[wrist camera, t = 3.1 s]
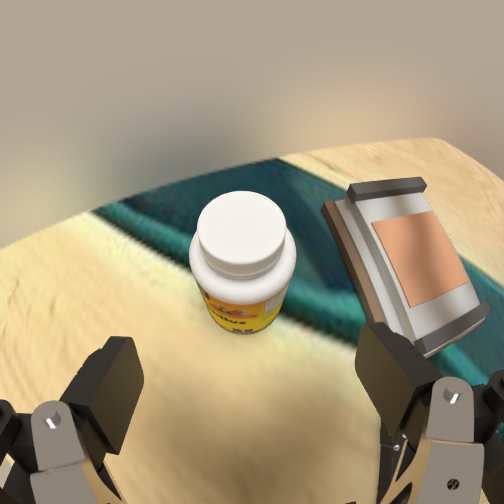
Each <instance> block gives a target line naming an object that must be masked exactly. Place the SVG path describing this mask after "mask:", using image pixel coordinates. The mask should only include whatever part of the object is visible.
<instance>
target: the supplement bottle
mask: <svg viewBox="0 0 504 504" xmlns="http://www.w3.org/2000/svg"><path fill="white" fill-rule="evenodd" d="M189 260H190V266H191V269H192V272H193V275H194V278H195V280H196V282H197V285H198V287H199V289H200V292H201V294H202V296H203V299H204V301H205V303H206V305H207V308H208V310H209V312H210V314H211V316H212V318H213V319H214V320H215V321H216V323H217V324H218V325H220V326H221V327H222V328H224V329H226V330H228V331H230V332H233V333H237V334H252V333H256V332H259V331H261V330H263V329H265V328H266V327H267V326H269V325H270V324H271V323H272V322H273V321H274V319H275V318H276V316H277V315H278V313H279V310H280V308H281V305H282V302H283V300H284V297H285V294H286V291H287V288H288V285H289V283H290V280H291V277H292V274H293V271H294V268H295V263H296V247H295V243H294V240H293V237H292V235H291V233H290V232H289V230H288V229H287V227H286V222H285V218H284V215H283V213H282V211H281V210H280V208H279V207H278V206H277V205H276V204H275V203H274V202H273V201H272V200H270V199H269V198H267V197H265V196H263V195H261V194H258V193H254V192H248V191H236V192H230V193H226V194H224V195H221V196H219V197H217V198H216V199H214V200H213V201H211V202H210V203H209V204H208V205H207V206H206V207H205V208H204V209H203V211H202V213H201V215H200V217H199V220H198V225H197V231H196V233H195V235H194V237H193V239H192V242H191V246H190V252H189Z"/></svg>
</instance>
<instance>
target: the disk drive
mask: <svg viewBox="0 0 504 504" xmlns="http://www.w3.org/2000/svg"><path fill="white" fill-rule="evenodd" d="M477 386H484V384H480V385H475V386H471V387H477ZM406 439H407V438H406V436H405V434H403V435H400V436H397V437H395V438H392V437H391V435H390V434H389V432H388V430H387V428H386V426H385V424H384V422H383V421H382V419H381V431H380V444H381V453H380V472H379V484H378V494H377V500H376V502H377V503H376V504H380V503H381V501H382V500H383V498H384V496H385V495H386V493H387V491H388V489H389V487H390V485H391V482H392V480H393V477H394V474H395V471H396V468H397V465H398V462H399V459H400V456H401V452H402V449H403V445H404V443H405V441H406Z"/></svg>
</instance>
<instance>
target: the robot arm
mask: <svg viewBox="0 0 504 504" xmlns="http://www.w3.org/2000/svg"><path fill="white" fill-rule="evenodd" d="M355 370H356V373H357V376H358V377H359V379H360V381H361V383H362V385H363V386H364V388H365V390H366V392H367V393H368V395H369V397H370V399H371V401H372V402H373V404H374V406H375V408H376V410H377V411H378V413H379V415H380V417H381V419H382V421H383V422H384V424H385V426H386V428H387V430H388V432H389V434H390V435H391V437H392V438H395V437H397V436H400V435H403V434H405V436H406V438H407V439H406V441H405V443H404V445H403V449H402V452H401V456H400V459H399V462H398V465H397V468H396V471H395V474H394V477H393V480H392V482H391V485H390V487H389V489H388V491H387V493H386V495H385V496H384V498H383V500H382V501H381V503H380V504H479V499H480V492H481V487H482V489H483V491H484V493H485V495H486V497H487V499H488V501H489V503H490V504H504V443H503V442H502V440H501V439H500V437H499V436H498V435H497V433H496V430H497V429H498V428H499V426H500V425H501V423H502V422H503V423H504V370H499V371H496V372H494V373H493V374H492V376H491V378H490V380H489V382H488V384H487V385H484V386H477V387H470V385H469V384H468V383H467V382H465V381H464V380H462V379H459V378H456V377H444V378H443V376H442V375H441V374H440V373H439V372H438V371H437V370H436V369H435V367H434V366H433V365H432V364H431V363H430V362H429V361H428V360H427V359H426V358H425V357H424V355H421V352H420V351H419V350H418V349H417V348H415V346H414V345H413V344H412V343H411V342H410V340H409V339H408V338H406V337H404V336H402V335H400V334H399V333H397V332H395V333H394V332H393V331H392V330H391V329H390V328H389V327H388V326H387V325H386V324H385V323H384V322H382V321H381V322H375V323H369V324H363V325H362V327H361V329H360V335H359V341H358V346H357V352H356V357H355ZM143 384H144V375H143V370H142V367H141V363H140V360H139V357H138V354H137V350H136V347H135V343H134V341H133V339H132V338H131V337H122V336H111V337H110V338H109V339H108V340H107V342H106V343H105V345H104V346H103V348H102V349H98V350H96V351H95V352H94V353H92V354H91V355H89V356H88V358H87V359H86V361H85V362H84V364H83V365H82V367H81V368H80V369H79V371H78V372H77V375H75V377H74V378H73V380H72V381H71V383H70V384H69V386H68V387H67V389H66V390H65V392H64V393H63V395H62V396H61V398H60V400H59V401H47V402H44V403H42V404H41V405H39V406H38V407H37V408H36V409H35V410H34V412H33V413H32V414H25V413H16V412H15V410H14V409H13V407H12V405H11V404H10V403H9V402H8V401H6V400H1V399H0V466H1V464H2V462H3V459H4V458H5V456H6V454H7V453H8V454H9V455H10V457H11V458H12V459H13V460H14V461H15V462H14V464H13V466H12V468H11V471H10V473H9V475H8V477H7V480H6V482H5V485H4V487H3V489H2V488H1V487H0V504H127V502H126V500H125V499H124V497H123V495H122V493H121V491H120V489H119V488H118V486H117V484H116V482H115V480H114V478H113V476H112V474H111V472H110V470H109V468H108V466H107V464H106V462H105V460H104V458H105V455H106V453H111V454H115V455H119V453H120V450H121V447H122V444H123V441H124V438H125V435H126V432H127V430H128V427H129V424H130V421H131V418H132V415H133V413H134V410H135V407H136V404H137V402H138V399H139V396H140V394H141V391H142V388H143ZM346 504H356V501H354V502H350V503H346Z"/></svg>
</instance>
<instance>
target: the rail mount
mask: <svg viewBox="0 0 504 504" xmlns="http://www.w3.org/2000/svg"><path fill="white" fill-rule="evenodd" d="M426 187H427V184H426V183H425V182H424V180H423V179H422V177H411V178H400V179H389V180H380V181H370V182H361V183H353V184H350V186H349V188H348V191H347V194H346V196H345V198H344V199H339V200H333V201H326V202H324V204H323V207H322V212H323V214H324V217H325V219H326V221H327V223H328V225H329V227H330V230H331V232H332V234H333V236H334V239H335V241H336V243H337V245H338V248H339V250H340V252H341V255H342V257H343V259H344V262H345V264H346V267H347V269H348V272H349V274H350V276H351V279H352V281H353V284H354V286H355V289H356V292H357V294H358V297H359V299H360V302H361V305H362V307H363V310H364V313H365V315H366V318H367V321H368V324H369V323H375V322H381V321H382V322H384V323H385V324H386V325H387V326H388V327H389V328H390V329H391V330H392V331H393V332H394V333H395V332H397V333H399V334H400V335H402V336H404V337H406V338H408V339H409V340H410V342H411V343H412V344H413V345H414V346H415V348H417V349H418V350H419V351H420V352H421V355H424V357H425V358H428V357H430V356H431V355H433V354H435V353H437V352H438V351H440V350H442V349H444V348H445V347H447V346H449V345H450V344H452V343H453V342H455V341H457V340H458V339H460V338H461V337H463V336H464V335H466V334H467V333H469V332H470V331H472V330H473V329H475V328H476V327H478V326H479V325H481V324H482V323H483V322H484V319H485V317H486V316H488V315H489V314H490V313H492V312H493V311H492V308H491V306H490V303H489V301H488V300H486V301H485V302H483V303H482V304H480V303H479V300H478V298H477V295H476V293H475V291H474V288H473V286H472V284H471V281H470V279H469V277H468V275H467V272H466V270H465V268H464V266H463V264H462V262H461V260H460V258H459V256H458V254H457V252H456V250H455V248H454V246H453V244H452V242H451V240H450V238H449V237H448V235H447V233H446V231H445V229H444V228H443V226H442V224H441V222H440V221H439V219H438V217H437V216H436V214H435V212H434V211H433V209H432V207H431V206H430V204H429V203H428V201H427V199H426V198H425V196H424V195H423V192H424V190H425V188H426Z"/></svg>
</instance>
